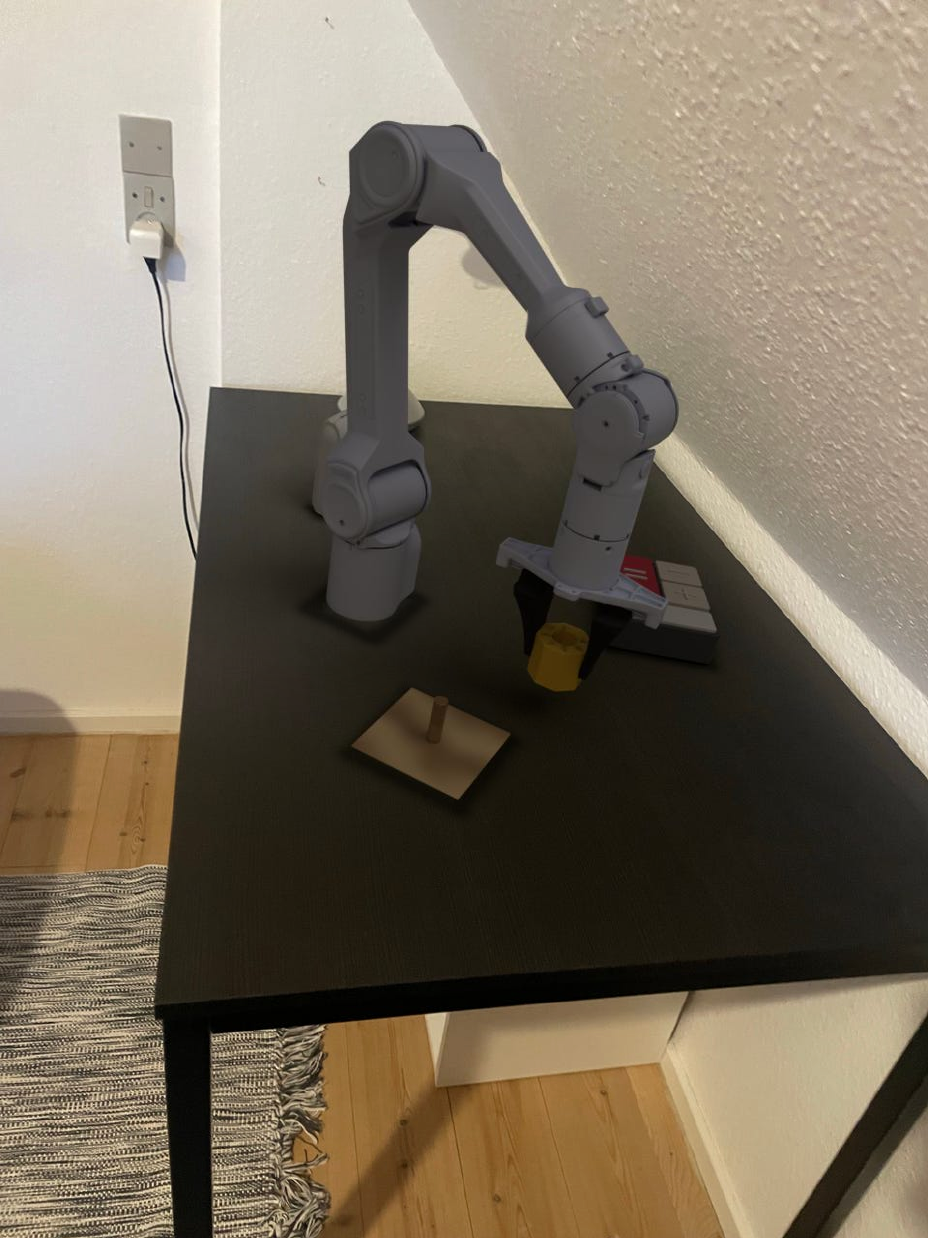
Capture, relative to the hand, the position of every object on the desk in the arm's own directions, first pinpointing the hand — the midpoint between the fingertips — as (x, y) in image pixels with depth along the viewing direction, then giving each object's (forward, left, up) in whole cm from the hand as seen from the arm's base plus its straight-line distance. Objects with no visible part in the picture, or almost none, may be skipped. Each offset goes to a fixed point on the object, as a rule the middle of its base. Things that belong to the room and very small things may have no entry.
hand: (557, 661), depth 82 cm
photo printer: (-22, -35, -6) cm, 42 cm away
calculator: (-24, +3, -6) cm, 25 cm away
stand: (+10, -6, -6) cm, 13 cm away
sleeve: (0, 0, -1) cm, 1 cm away
